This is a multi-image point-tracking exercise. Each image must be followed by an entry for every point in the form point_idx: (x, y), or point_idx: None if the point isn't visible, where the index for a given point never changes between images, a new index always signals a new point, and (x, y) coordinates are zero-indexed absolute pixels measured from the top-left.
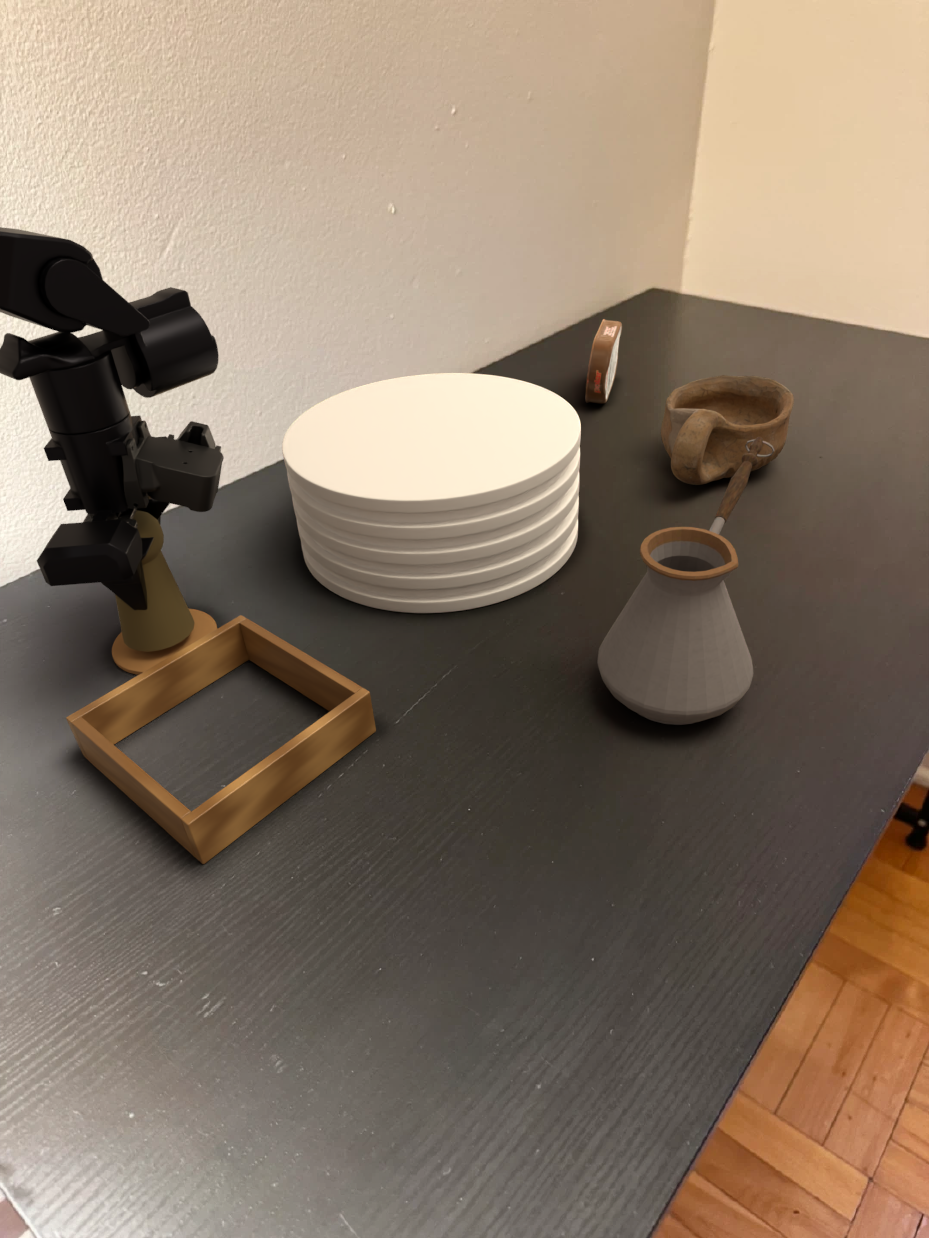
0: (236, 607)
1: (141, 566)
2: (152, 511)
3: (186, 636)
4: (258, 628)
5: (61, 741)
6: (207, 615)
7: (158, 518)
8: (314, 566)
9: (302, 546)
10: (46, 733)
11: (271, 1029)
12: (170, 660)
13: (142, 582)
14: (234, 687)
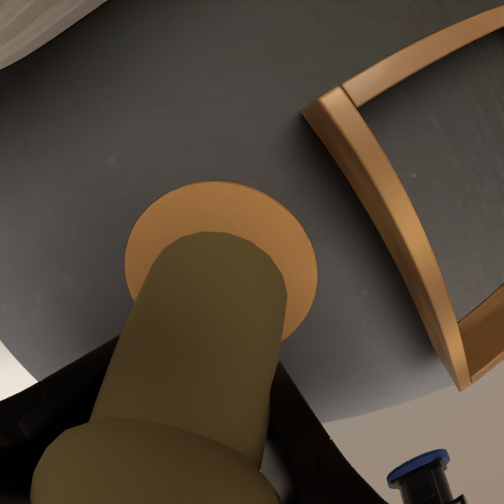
0: (129, 150)
1: (312, 479)
2: (1, 476)
3: (255, 246)
4: (396, 63)
5: (396, 375)
6: (154, 206)
7: (7, 445)
8: (69, 8)
9: (11, 52)
10: (373, 391)
11: None
12: (436, 280)
13: (310, 430)
14: (397, 151)
